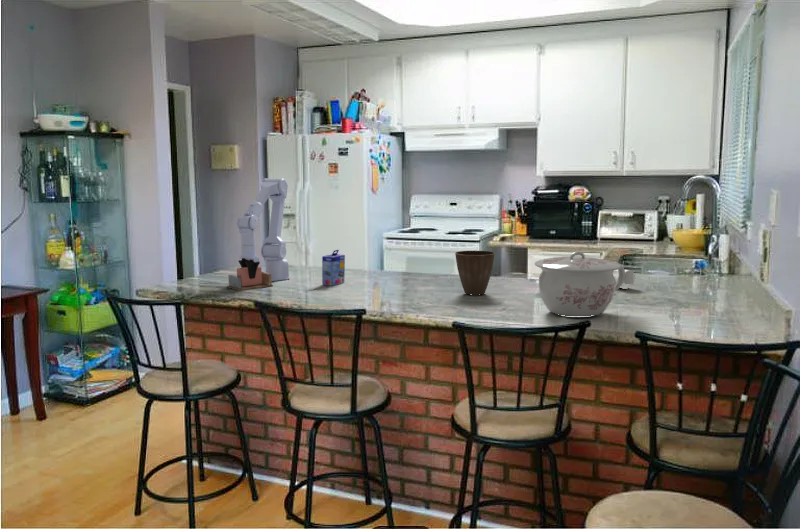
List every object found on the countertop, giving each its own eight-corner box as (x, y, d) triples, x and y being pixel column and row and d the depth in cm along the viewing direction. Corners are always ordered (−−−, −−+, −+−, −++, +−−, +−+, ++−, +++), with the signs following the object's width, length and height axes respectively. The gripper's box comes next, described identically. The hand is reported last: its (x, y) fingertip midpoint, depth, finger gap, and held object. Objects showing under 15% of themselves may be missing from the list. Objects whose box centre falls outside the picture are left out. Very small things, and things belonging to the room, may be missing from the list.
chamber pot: (524, 319, 206) (526, 254, 203) (542, 302, 231) (543, 245, 228) (616, 327, 195) (619, 259, 192) (624, 309, 220) (627, 248, 217)
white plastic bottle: (598, 282, 272) (598, 263, 271) (635, 289, 256) (636, 269, 255) (584, 284, 268) (585, 265, 266) (621, 291, 252) (622, 271, 251)
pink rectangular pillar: (257, 282, 270) (256, 266, 269) (262, 283, 267) (261, 267, 266) (237, 285, 265) (236, 268, 264) (241, 286, 261) (240, 269, 260)
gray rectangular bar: (231, 285, 266) (231, 274, 265) (241, 288, 259) (240, 277, 258) (228, 285, 265) (228, 275, 264) (238, 288, 258) (237, 277, 257)
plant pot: (447, 294, 246) (447, 253, 244) (467, 288, 258) (468, 249, 256) (481, 299, 237) (482, 256, 235) (501, 293, 249) (501, 252, 247)
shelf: (261, 282, 275) (261, 271, 274) (272, 286, 267) (272, 274, 266) (227, 287, 265) (226, 275, 264) (237, 290, 257) (237, 278, 257)
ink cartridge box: (332, 286, 266) (332, 251, 264) (321, 285, 268) (320, 250, 266) (345, 282, 274) (345, 248, 272) (334, 281, 277) (334, 248, 275)
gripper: (231, 244, 266) (233, 276, 268) (247, 247, 255) (248, 280, 257) (247, 242, 271) (248, 274, 273) (263, 245, 260) (264, 279, 262)
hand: (249, 277), depth 265 cm, fingers open, 4 cm apart
